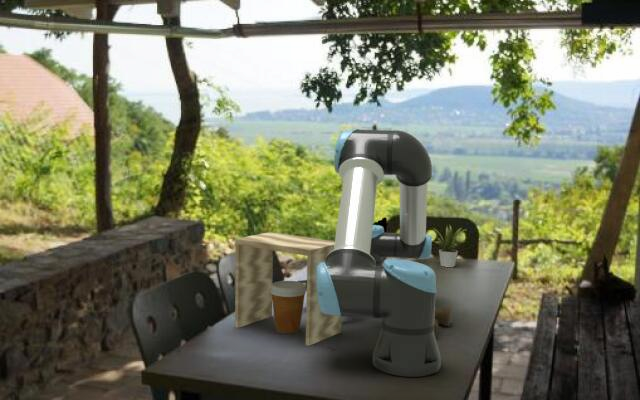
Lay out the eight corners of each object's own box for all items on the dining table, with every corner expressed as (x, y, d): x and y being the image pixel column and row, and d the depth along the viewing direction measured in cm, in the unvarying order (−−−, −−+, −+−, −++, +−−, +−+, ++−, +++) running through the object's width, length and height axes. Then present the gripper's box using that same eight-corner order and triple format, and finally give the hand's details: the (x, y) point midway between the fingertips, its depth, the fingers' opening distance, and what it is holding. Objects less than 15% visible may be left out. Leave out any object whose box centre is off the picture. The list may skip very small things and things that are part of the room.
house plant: (477, 269, 258) (479, 226, 256) (445, 272, 253) (447, 228, 251) (456, 262, 271) (457, 221, 270) (425, 264, 266) (426, 222, 264)
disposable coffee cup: (273, 336, 174) (274, 289, 173) (266, 325, 183) (266, 281, 182) (310, 334, 177) (310, 288, 175) (301, 323, 186) (301, 279, 184)
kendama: (407, 339, 176) (417, 316, 195) (446, 344, 173) (451, 320, 192) (409, 316, 175) (418, 295, 194) (447, 321, 172) (453, 299, 192)
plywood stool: (269, 315, 192) (270, 232, 190) (341, 332, 179) (343, 242, 176) (235, 327, 181) (235, 238, 178) (309, 345, 167) (310, 250, 165)
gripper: (389, 301, 197) (348, 317, 180) (318, 287, 212) (274, 301, 195) (390, 275, 197) (349, 289, 179) (318, 263, 211) (274, 275, 194)
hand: (310, 296), depth 187 cm, fingers open, 13 cm apart
